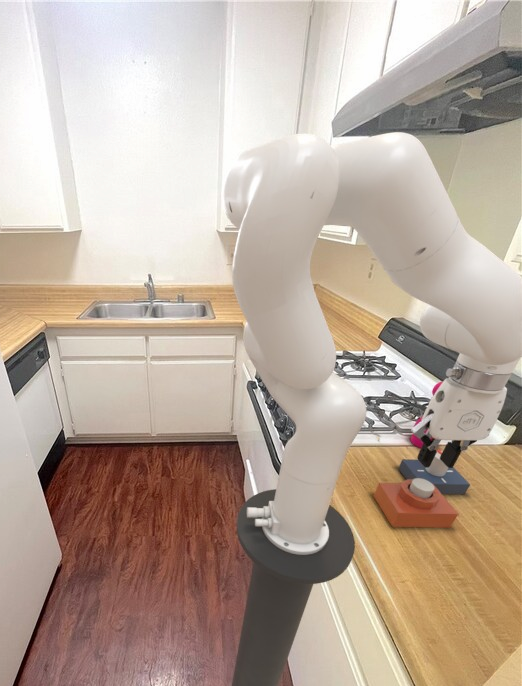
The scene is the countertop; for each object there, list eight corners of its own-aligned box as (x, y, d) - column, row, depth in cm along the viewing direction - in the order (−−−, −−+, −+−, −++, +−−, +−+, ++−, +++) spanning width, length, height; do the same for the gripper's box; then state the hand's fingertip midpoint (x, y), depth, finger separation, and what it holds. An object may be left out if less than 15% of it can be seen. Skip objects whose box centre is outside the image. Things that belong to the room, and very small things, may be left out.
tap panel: (417, 493, 79) (422, 483, 77) (398, 468, 86) (402, 458, 85) (464, 494, 79) (471, 484, 77) (441, 469, 87) (446, 459, 85)
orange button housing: (392, 526, 70) (402, 505, 67) (373, 495, 78) (381, 475, 75) (450, 527, 71) (463, 506, 67) (426, 496, 78) (436, 476, 75)
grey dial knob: (448, 476, 79) (457, 460, 77) (431, 476, 79) (440, 460, 77) (438, 465, 83) (446, 449, 80) (421, 465, 83) (429, 449, 80)
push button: (415, 498, 70) (418, 491, 68) (405, 485, 73) (408, 477, 72) (434, 498, 70) (438, 491, 68) (423, 485, 73) (427, 478, 72)
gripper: (441, 384, 54) (401, 475, 64) (547, 387, 54) (490, 476, 64) (416, 366, 60) (382, 451, 70) (511, 368, 60) (464, 452, 70)
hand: (434, 462), depth 67 cm, fingers open, 3 cm apart
